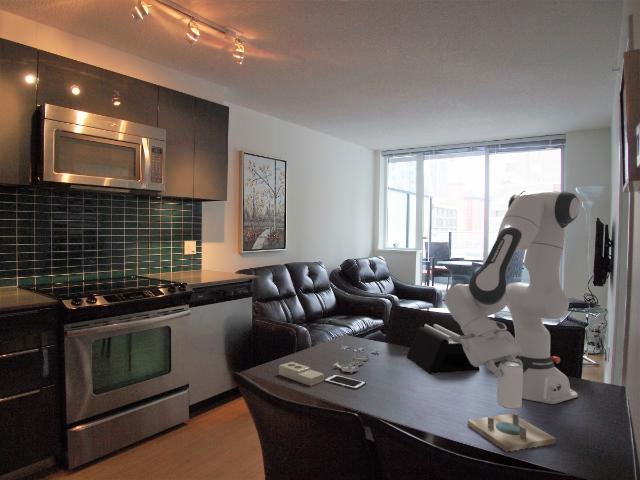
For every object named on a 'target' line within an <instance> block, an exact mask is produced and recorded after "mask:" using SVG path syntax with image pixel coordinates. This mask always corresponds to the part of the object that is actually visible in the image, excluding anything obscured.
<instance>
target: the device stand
mask: <svg viewBox="0 0 640 480" xmlns="http://www.w3.org/2000/svg"><path fill="white" fill-rule="evenodd" d="M432 325H433V327H432V326H430V325H429V324H427V323H425V324H424V326H420V327H418V329H417V331H416V334H415V335H414V338H413V339H412V343H411V345H410V347H409V350H408V352H407V355H406V357H407V358H408V359H409V360H411V361H412V362H413V363H415V364H416V365H417V366H419V367H420V368H421V369H423V370H424V371H426V372H427V374H430V375H431V374H447V373H459V372H461V373H463V372H465V373H466V372H477V371H478V372H479V371H481V370H480V366H478V367H475V366H473V365H472V364H471V363H470V361H469V359H468V358H467V356H466V354H465V352H464V349H463V345H462V344H461V342H460V339H461V336H462V335H460V334H459V333H455V332H453V331H451V330H449V329H446V328H445V327H443V326H441V325H439V324H436V323H434V324H432Z"/></svg>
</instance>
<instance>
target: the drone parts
mask: <svg viewBox="0 0 640 480" xmlns="http://www.w3.org/2000/svg"><path fill="white" fill-rule="evenodd" d="M340 346H341V349H340V350H342V351H343V350H345V349H347V351H349V349H351V348H352V345H350V346H343V344H341V345H340ZM365 348H366V347H365V346H364V347H360V346H358V348H357V349H353V351H354V352H356V354H354V355H353V359H352V358H350V359H348V360H347V363H342V364H341V365H340V364H339V361H337V362H336V363H334V364H333V365H332V367H333V368H335V366H336V368H339V369H340V370H341V372H342V373H345V372H346V373H350V374H353V372H357V371H359V369H360V368H359V367H360V366H362V365H363V364H364V361H366V362H367V361H368V360H369V359H370V357H369V355H366V354H362V356H361V354H357V353H364V352H365V350H366V349H365ZM370 351H371V353H373V354H374V355H375V354H380V353H381V352H380V351H381V349H380V348H379V349H378V350H376V348H374V349H373V350H370ZM354 365H355V366H354Z"/></svg>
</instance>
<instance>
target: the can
mask: <svg viewBox="0 0 640 480" xmlns="http://www.w3.org/2000/svg"><path fill="white" fill-rule="evenodd" d="M497 368H499V369H501V370H502V372H503V373H504V375H503V376H502V377H499V378H497V384H496V386H497V387H496V402H497V404H498V406H500V407H502V408H505V409H509V410H518V409H521V408H522V404H523V398H522V387H523V369H522V364H521V363H519V362H517V361H513V360H501V361H499V364H498V367H497Z"/></svg>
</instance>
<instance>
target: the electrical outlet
mask: <svg viewBox="0 0 640 480" xmlns="http://www.w3.org/2000/svg"><path fill="white" fill-rule="evenodd" d="M278 375H279V376H282V377H284V378H287V379H291V380H293V381H295V382H298V383H301V384H304V385H307V386H309V387H312V386H315V385H318V384H320V383H323V382H325V381H324V379H325V374H324V373H323V372H320V371H316V370H313V369H311V367H310V366H307V365H303V364H300V363H297V362H296V361H295V362H294V361H288V362H286V363H283V364H279V366H278Z"/></svg>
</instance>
